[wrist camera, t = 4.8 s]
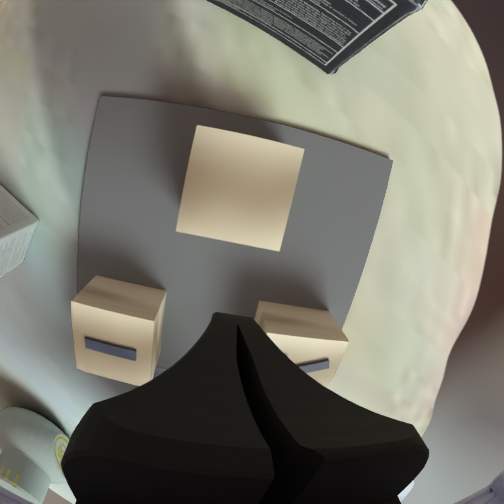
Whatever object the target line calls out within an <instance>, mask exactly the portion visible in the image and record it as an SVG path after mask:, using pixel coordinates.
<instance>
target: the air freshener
mask: <svg viewBox="0 0 504 504" xmlns="http://www.w3.org/2000/svg"><path fill="white" fill-rule="evenodd" d="M68 442H69V439H68V437H67V436H66V435H65V434H64V433H63V432H62V431H61V430H60V429H59V428H58V427H57V426H55V425H54V424H53V423H52V422H50V421H49V420H47V419H46V418H44V417H42V416H41V415H39V414H37V413H35V412H33V411H30V410H27V409H23V408H19V407H9V408H4V409H2V410H1V411H0V448H1V449H2V453H1V455H0V486H2V487H3V488H5V489H7V490H9V491H11V492H12V493H14V494H16V495H18V496H20V497H22V498H24V499H26V500H28V501H30V502H32V503H34V504H42V503H43V500H44V497H45V495H46V492H47V490H48V487H49V485H50V483H53V484H63V483H67V481H66V479H65V477H64V475H63V472H62V469H61V464H60V463H61V460H62V458H63V455H64V452H65V450H66V447H67V445H68Z"/></svg>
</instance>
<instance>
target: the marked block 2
mask: <svg viewBox="0 0 504 504" xmlns="http://www.w3.org/2000/svg"><path fill="white" fill-rule="evenodd" d="M254 320H255V321H256V322H257V323H258V325H259V326H260V327H261V328H262V330H263V331H264V332H265V333H266V334H267V335H268V337H269V338H270V339H271V340H272V341H273V342H274V343H275V344H276V346H277V347H278V348H279V349H280V350H281V351H282V352H283V353H284V354H285V355H286V356H287V357H288V358H289V359H290V360H291V361H293V362H294V363H295V364H296V365H297V366H298V367H299V368H300V369H302V370H303V371H304V372H305V373H307V374H308V375H309V376H311V377H312V378H313V379H315V380H316V381H317V382H319V383H320V384H322V385H323V386H325V387H326V388H329V386H330V384H331V382H332V380H333V378H334V375H335V373H336V371H337V369H338V367H339V364H340V362H341V360H342V358H343V355H344V353H345V351H346V348H347V346H348V344H349V341H348V339H347V338H346V336H345V334H344V333H343V331H342V330H341V328H340V327H339V325H338V324H337V322H336V321H335V319H334V318H333V316H332V315H331V313H330V311H326V310H319V309H312V308H305V307H298V306H292V305H285V304H279V303H272V302H266V301H260V300H259V304H258V307H257V311H256V315H255V319H254Z"/></svg>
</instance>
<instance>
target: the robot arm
mask: <svg viewBox="0 0 504 504" xmlns="http://www.w3.org/2000/svg"><path fill="white" fill-rule="evenodd" d="M428 457H429V449H428V448H427V446H426V445H425V443H424V441H423V440H422V438H421V437H420V435H419V433H418V432H417V430H416V429H415V427H414V426H413V425H412V424H408V423H405V422H402V421H398V420H395V419H392V418H389V417H386V416H383V415H380V414H377V413H375V412H372V411H370V410H368V409H365V408H363V407H361V406H359V405H357V404H355V403H353V402H351V401H349V400H347V399H345V398H343V397H341V396H339V395H338V394H336V393H334V392H333V391H331V390H329V389H328V388H326V387H325V386H323V385H322V384H320V383H319V382H317V381H316V380H315V379H313V378H312V377H311V376H309V375H308V374H307V373H305V372H304V371H303V370H302V369H300V368H299V367H298V366H297V365H296V364H295V363H294V362H293V361H291V360H290V359H289V358H288V357H287V356H286V355H285V354H284V353H283V352H282V351H281V350H280V349H279V348H278V347H277V346H276V344H275V343H274V342H273V341H272V340H271V339H270V338H269V337H268V335H267V334H266V333H265V332H264V331H263V330H262V328H261V327H260V326H259V325H258V323H257V322H256V321H255V320H254V319H253V318H251V317H245V316H239V315H233V314H227V313H221V312H215V313H214V314H212V319H211V321H210V323H209V325H208V327H207V328H206V330H205V331H204V333H203V334H202V336H201V337H200V338H199V340H198V341H197V342H196V343H195V344H194V345H193V346H192V348H191V349H190V350H189V351H188V352H187V353H186V354H185V355H184V356H183V357H182V358H181V359H180V360H178V361H177V362H176V363H175V364H174V365H172V366H171V367H170V368H168V369H167V370H166V371H164V372H163V373H161V374H160V375H159V376H157V377H155V378H154V379H152V380H151V381H149V382H147V383H145V384H143V385H141V386H139V387H137V388H135V389H133V390H131V391H129V392H127V393H124V394H121V395H119V396H116V397H113V398H110V399H107V400H104V401H100V402H97V403H94V404H93V405H92V406H91V407H90V408H89V410H88V411H87V412H86V414H85V415H84V416H83V418H82V419H81V421H80V422H79V424H78V425H77V427H76V428H75V430H74V432H73V433H72V435H71V438H70V440H69V442H68V445H67V447H66V450H65V452H64V455H63V458H62V460H61V463H60V464H61V469H62V472H63V475H64V477H65V479H66V481H67V483H68V485H69V487H70V489H71V491H72V492H73V494H74V496H75V498H76V500H77V501H76V504H401V502H400V500H399V498H398V496H397V495H398V494H399V493H401V492H402V491H403V490H404V489H405V488H406V487H407V486H408V485H409V484H410V483H411V482H412V481H413V480H414V479H415V477H416V476H417V475H418V474H419V473H420V472H421V470H422V469H423V468H424V466H425V464H426V462H427V460H428ZM0 504H34V503H32V502H30V501H28V500H26V499H24V498H22V497H20V496H18V495H16V494H14V493H12V492H11V491H9V490H7V489H5V488H3V487H2V486H0ZM454 504H504V470H503V471H502V472H501V473H500V474H499V475H498V476H497V477H496V478H495V479H494V480H493V481H492V482H491V483H490V485H488V486H487V487H485V488H483V489H481V490H479V491H478V492H476V493H474V494H472V495H470V496H468V497H466V498H464V499H462V500H460V501H458V502H456V503H454Z"/></svg>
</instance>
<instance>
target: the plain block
mask: <svg viewBox="0 0 504 504" xmlns="http://www.w3.org/2000/svg"><path fill="white" fill-rule="evenodd" d="M304 150H305V149H303V148H299V147H295V146H291V145H288V144H284V143H280V142H276V141H272V140H267V139H263V138H259V137H255V136H250V135H246V134H241V133H236V132H232V131H227V130H222V129H216V128H211V127H206V126H200V125H197V127H196V131H195V136H194V140H193V145H192V149H191V154H190V158H189V163H188V168H187V173H186V178H185V183H184V188H183V193H182V199H181V204H180V209H179V215H178V221H177V227H176V231H177V232H182V233H187V234H192V235H197V236H202V237H208V238H213V239H218V240H223V241H228V242H233V243H239V244H244V245H249V246H254V247H259V248H264V249H269V250H274V251H280V247H281V244H282V240H283V236H284V232H285V228H286V224H287V220H288V216H289V212H290V208H291V204H292V200H293V196H294V192H295V187H296V183H297V179H298V175H299V171H300V167H301V162H302V158H303V154H304Z"/></svg>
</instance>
